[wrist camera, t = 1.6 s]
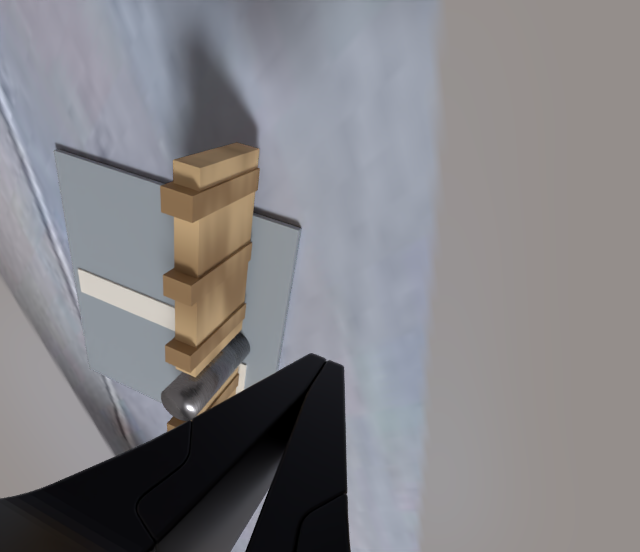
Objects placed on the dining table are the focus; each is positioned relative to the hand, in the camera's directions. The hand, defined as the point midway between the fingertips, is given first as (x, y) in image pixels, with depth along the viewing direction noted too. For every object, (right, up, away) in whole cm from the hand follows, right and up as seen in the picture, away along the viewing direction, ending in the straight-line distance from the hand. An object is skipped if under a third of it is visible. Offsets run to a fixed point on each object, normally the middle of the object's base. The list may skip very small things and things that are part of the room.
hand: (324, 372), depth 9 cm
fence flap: (-4, +4, +9) cm, 10 cm away
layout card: (-8, 0, +13) cm, 16 cm away
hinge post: (-5, -1, +12) cm, 13 cm away
